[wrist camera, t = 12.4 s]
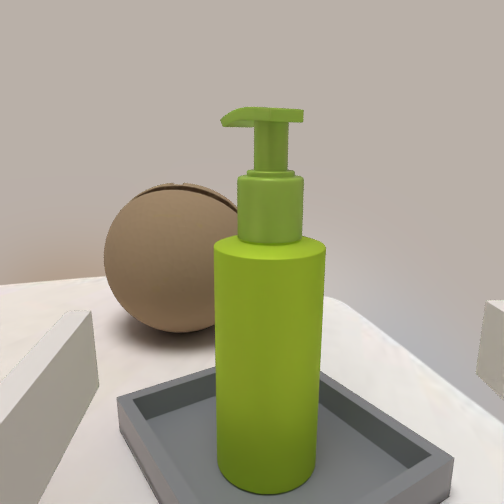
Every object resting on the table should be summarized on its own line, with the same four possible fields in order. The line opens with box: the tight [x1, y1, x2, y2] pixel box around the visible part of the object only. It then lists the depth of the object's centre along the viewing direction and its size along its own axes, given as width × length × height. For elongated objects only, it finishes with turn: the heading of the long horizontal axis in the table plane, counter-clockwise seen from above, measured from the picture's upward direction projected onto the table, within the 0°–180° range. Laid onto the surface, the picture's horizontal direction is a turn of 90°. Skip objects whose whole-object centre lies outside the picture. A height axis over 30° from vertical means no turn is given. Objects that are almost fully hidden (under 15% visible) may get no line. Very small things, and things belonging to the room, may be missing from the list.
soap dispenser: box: [214, 107, 326, 494], centre depth 24 cm, size 6×7×20 cm
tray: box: [117, 366, 454, 504], centre depth 27 cm, size 16×14×2 cm
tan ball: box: [104, 183, 238, 332], centre depth 44 cm, size 15×15×15 cm
